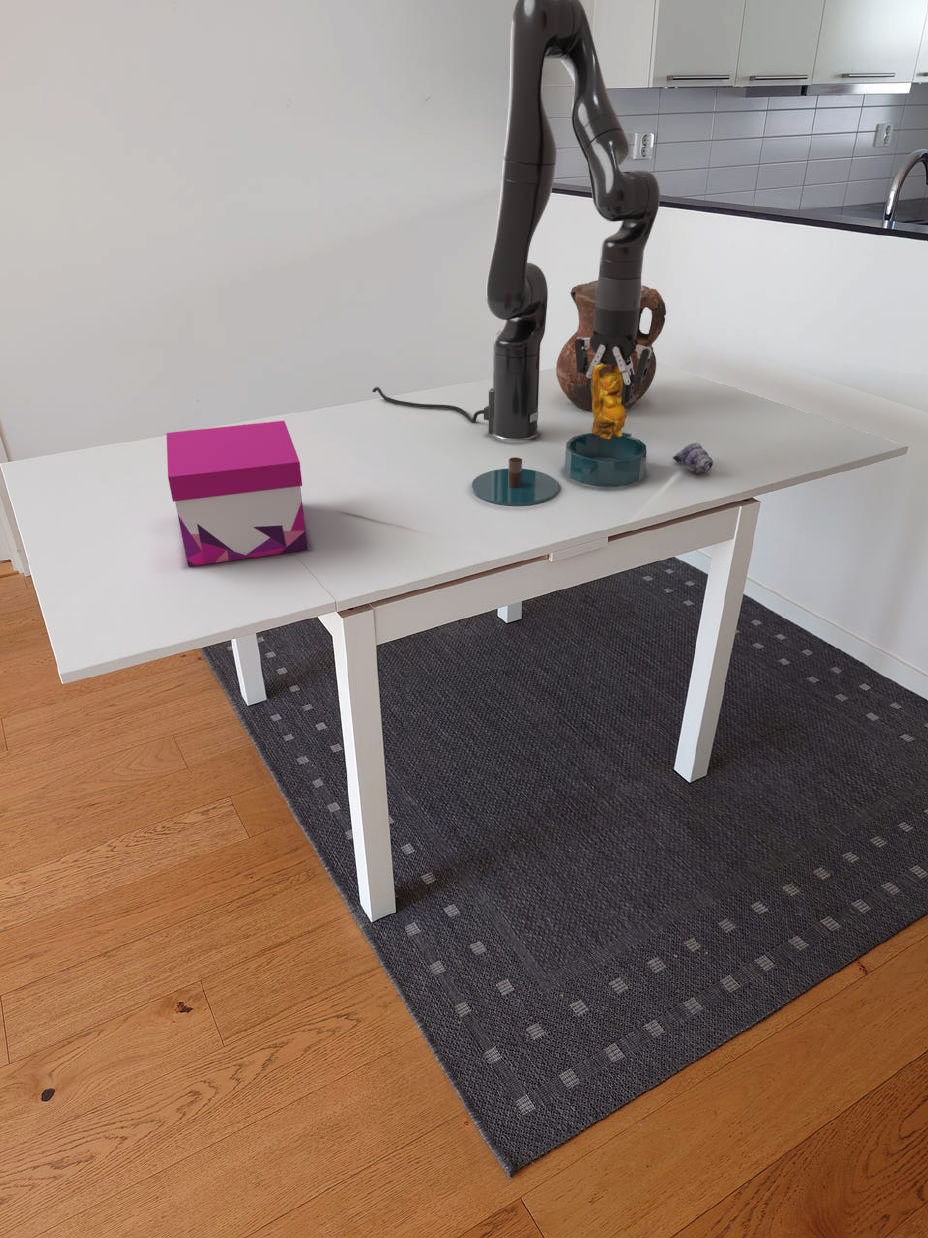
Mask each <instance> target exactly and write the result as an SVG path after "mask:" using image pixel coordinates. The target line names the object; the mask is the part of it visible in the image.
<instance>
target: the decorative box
mask: <svg viewBox="0 0 928 1238" xmlns="http://www.w3.org/2000/svg"><path fill="white" fill-rule="evenodd" d="M166 456H167V461H166V462H167V478H168V479H167V480H168V483H169V484H168V485H169V490H170V494H171V499H172V502H173V503H175V508H176V514H177V517H178V523H179V528H180V534H181V538H182V543H183V548H184V553H185V557H186V558H185V559H186V564H187V567H194V566H201V565H209V564H215V563H223V562H230V561H238V560H244V559H249V558H250V559H251V558H259V557H260V558H261V557H266V556H273V555H279V554H280V555H281V554H288V553H294V552H303V551H308V542H307V541H308V539H307V534H306V533H307V532H306V524H305V516H304V508H303V507H304V506H303V498H302V489H301V488H302V487H303V480H302V472H301V471H302V470H301V462H300V459H299V456H298V454H297V451H296V448H295V445H294V443H293V441H292V437H291V435H290V432H289V429H288V426H287V424H286V420H278V421H277V420H276V421H267V422H258V423H248V424H240V425H239V424H238V425H230V426H228V425H227V426H218V427H210V428H209V427H208V428H201V429H190V430H182V431H181V430H180V431H171V432H170V431H169V432H166Z"/></svg>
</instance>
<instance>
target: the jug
mask: <svg viewBox="0 0 928 1238" xmlns="http://www.w3.org/2000/svg"><path fill="white" fill-rule="evenodd" d="M597 283H598V279H597V280H592V281H589V282H587V283H581V284H577V285H576V286H573V287H572V288H571V291H570V292H569V293H570V296H571V298H572V300H573V303H574V304H575V307H576V309H577V315H578V326H577V330H576V332H574V333H573V335H571V337H570V338H569V339H568V340H567V341H566V343H564V345H563V346H562V348H561V350H560V352H559V355H558V357H557V360H556V367H555V372H556V378H557V381H558V384H559V387H560V389H561V390H562V393H563V394H564V395H565V396H566V398H567V399H568V400H569V401H570V402H571V403H572V404H573V405H574V406H575V407H577V408H578V409H581V410H585V411H589V412H593V410H592V399H589V398H588V395H587V394H586V385H587V377H586V375H584V374H582V373H578V372H577V364H576V352H575V340H576V339H578V338H580V337H582V336H585V337H591V336H592V334H593V322H594V310H595V295H596V287H597ZM646 308H647V309H648V310H649V311H650V312H651V321H650V326H649V330H648V333H644V332H643V331H641V329H640V325H641V319H642V314H643V312H644V309H646ZM666 315H667V309H666V303H665V301H664V299H663V297H662V295H661V293H659V291H658V290H657V289H656V288H651V287H649V286H647V285H643V284H641V300H640V309H639V318H638V328H637V335H636V338H637V341H638V344H639V345H642V346H645V347H648V346H652V347H653V344H654V343H655V341H657V339H658V337H659V336H660V334H662V331H663V328H664V326H665V323H666V317H665V316H666ZM587 351H588V364H589V366H590V364H591V362H592V360H593V358H594V356H595V352H594V350H593V348H592V346H591V344H590V346H589V349H587ZM631 359H632V362H633V370H634V373H635V374H636V371H637V367H638V363H639V360H640V359H638V357H637V352H636V351H635V352H634V353H633V354H632V355H631ZM611 370H612V365H610V364H607V366H606V367H605V368H603V369H601V370H600V371H599V376H601V375H602V374H604V373H606V372H610V373H611ZM656 371H657V358H656V353H655V352H654V351H653V353H652V357H651V360H650V364H649V367H648V371H647V374H646V377H645V379H643V380H642V381H641V382H639V383H634V390H633V398H632V400H631V401H630V402H629V403H628V404H626V405H623V406H624V408H625V410H628V409H631V408H632V407H633V406H634V405H635V404H636V403H637V402H638V401H639V400H640V399H641V398H642V397H643V396H644V395H645V394H646V392H647V391H648V390H649V388H650V387H651V385H652V382H653V381H654V378H655V375H656ZM621 376H622V373H621ZM622 379H623V376H622ZM623 384H625V383H624V380H623Z"/></svg>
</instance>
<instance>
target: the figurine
mask: <svg viewBox="0 0 928 1238" xmlns="http://www.w3.org/2000/svg"><path fill="white" fill-rule="evenodd" d="M608 364H610V363H608ZM610 365H612V364H610ZM606 366H607V364H599V365H596V366H595V367H594V368H593V371H592V374H591V384H590V385H591V392H592V410H593V411H592V415H593V421H592V426H591V433H593V434H594V435H595V436H597V437H601V438H605V439H610V438H611V437H612V436H617V437H621V436H622V435H623V433H624V432H622V429H623V428H624V427H625V425H626V419H627V413H626V409H625V408H624V406H623V405H622V404H621V400H622V390H623V379H622V376H621V373H620V371H619V368H618V366H616V365H612V370H611V373H610V372H606V373H604V374H602V375H601V376H599V371H600V370H601V369H603V368H605V367H606Z"/></svg>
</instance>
